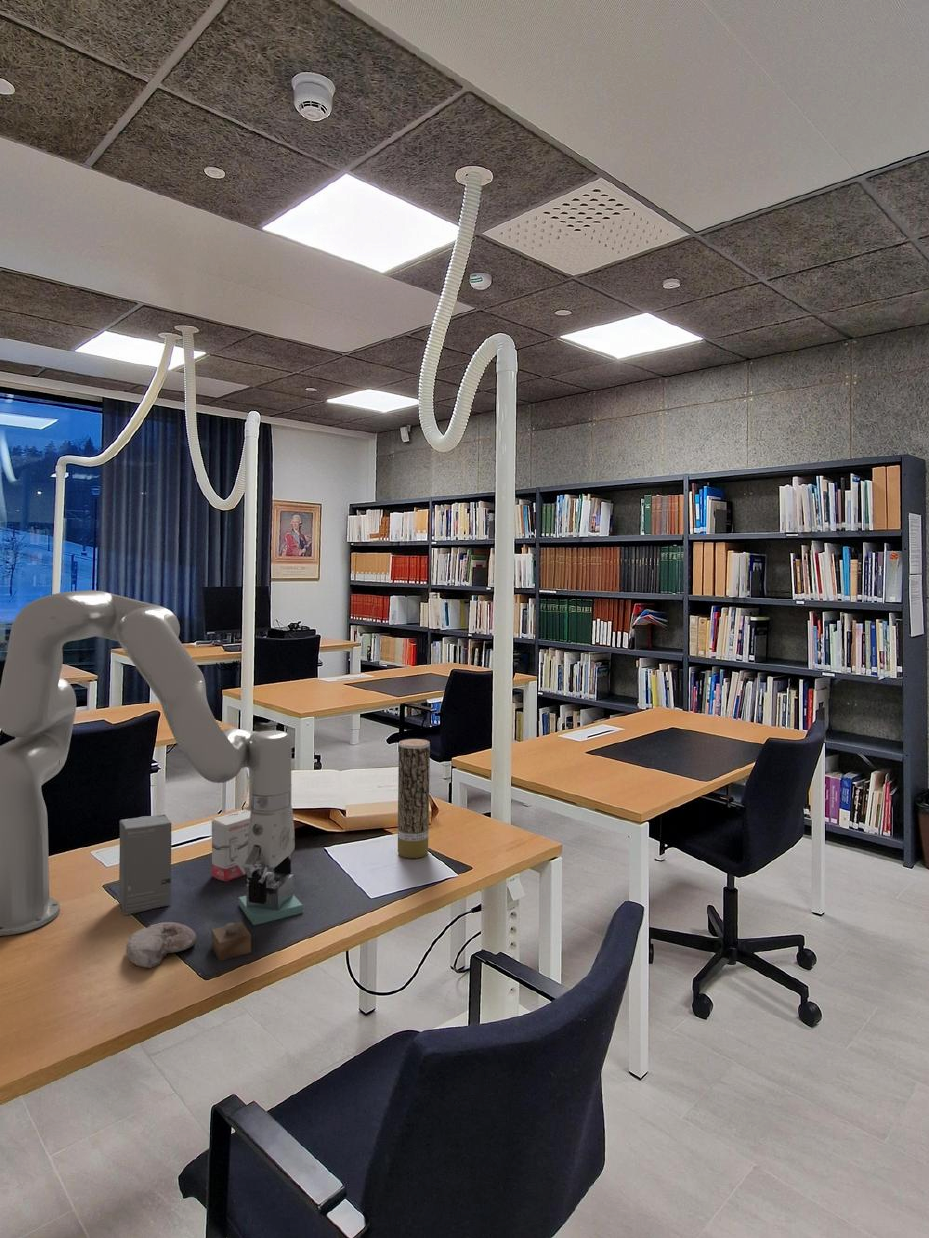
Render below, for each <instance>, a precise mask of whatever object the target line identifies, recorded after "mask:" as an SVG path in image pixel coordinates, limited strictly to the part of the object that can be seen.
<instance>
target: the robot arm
mask: <svg viewBox="0 0 929 1238" xmlns="http://www.w3.org/2000/svg"><path fill="white" fill-rule="evenodd" d="M180 625H181V624H180V623H179V620H178V618H177V616H176V614H174V613H173V612H172V611H171V610H170V609H168V608H166V607H164V606H161V605H157V604H154V603H149V602H146V601H145V602H144V601H141V600H139V599H138V600H137V599H134V598H130V597H126V596H122V595H118V594H115V593H110V592H107V591H103V590H94V589H90V590H89V589H87V590H72V591H65V592H64V591H63V592H58V593H53V594H48V595H46V596H43V597H40V598H37V599H35V600H33V601H31V602H30V603H27V604H26V605H25V606H24V607H23V608H21V610H20V611H19V612H18V614H17V615H16V616H15V618H14V620H13V622H12V624H11V628H10V633H9V639H8V645H7V646H8V647H7V651H6V658H5V662H4V667H3V671H2V676H1V683H0V729H1V731H2V732H3V733H4V734H6V735H8V736H11V737H14V739H12V740H9V741H8V742H5V743H4V744H2V745H1V744H0V937H4V936H12V935H19V934H22V933H25V932H29V931H32V930H34V929H35V930H36V929H38V928H40V927H43V926H44V925H46V924H48V923H50V922H51V921H53V920H54V919H55V918H56V917H57V916H58V915H59V914H60V911H61V910H60V903H59V901H58V900H57V899H54V898H52V897H50V867H49V865H50V861H49V828H48V827H49V826H48V823H49V822H48V811H47V806H46V803H45V800H44V796H43V792H42V786H43V785H44V784H45V783H47V782H48V781H50V780H51V779H52V778H54V777H55V776H56V775H58V774H59V773H60V771H61V770H62V769H63V768H64V766H65V763H66V761H67V758H68V754H69V751H70V745H71V738H72V733H73V727H74V723H75V719H76V713H77V712H76V711H77V697H76V693H75V690H74V689H73V686H72V685H71V684H70V682H68V681H67V680H66V679H65V678H63V677H61V673H62V669H63V663H64V662H63V661H64V659H63V658H64V656H63V655H64V654H63V653H64V652H63V646H64V645H65V644H66V643H68V642H73V641H74V642H75V641H81V640H85V639H90V638H95V637H98V638H101V639H108V640H112V641H115V642H118V643H119V644H120V647H121V648H122V649H123V651H124V652H125V654H126V655H127V657H128V659H130V661H131V662H132V664H133V665H134V667H135V668H136V670H138V672H139V673H140V675H141V677H143V679H144V681H145V682H146V683H147V684H148V686H149V688H150V689H151V690H152V692H153V693H154V695H155V696H156V698H157V699H158V701H159V703H160V705H161V709H162V712H163V714H164V718H165V719H166V722H167V724H168V727H169V728H170V732H171V734H172V737H173V739H174V740H175V742H176V743H177V745H178V747H179V749H180V750H181V752H182V753H183V754H184V756H185V758H187V760H188V761H189V763H190V764H191V766H192V767H193V768H194V769H195V771H196V772H197V773H198V774H199V775H200V776H201V777H203V778H204V779H205V780H207V781H208V782H211V783H214V784H222V783H223V784H224V783H227V782H229V781H232V780H233V779H235V777H236V776H238V774H239V773H240V772H241V771H242V769H244V768H247V769H248V811H251V813H250V821H249V831H248V858H247V860H246V862H245V864H244V870H245V878H246V881H247V882H248V883H247V884H248V888H249V902H251V903H259V904H265V903H266V881H264V879H265V876H266V872H268V869H269V870H270V869H273V872H274V873H283V874H291V875H292V873H291V872H292V869H291V868H292V866H291V865H292V856H293V852H294V850H295V848H296V847H295V846H296V845H295V844H296V843H295V839H296V838H295V837H296V836H295V822H294V813H293V812H294V810H293V805H292V752H293V751H292V747H293V746H292V745H293V744H292V738H291V735H290V734H289V733H288V732H286V731H282V730H274V729H273V730H262V731H256V730H255V731H253V730H246V729H241V728H240V729H239V728H226V729H225V728H224V729H222V727H221V726H220V725H219V723H218V722H217V720H216V718H215V717H214V715H213V712H212V710H211V707H210V705H209V702H208V698H207V685H206V679H205V677H204V673H203V672H202V671H201V669H200V667H199V666H198V664H197V663H196V661H194V659H193V658H192V656H191V655H190V653H189V652H188V650H187V649H186V647H185V646H184V645H183V643H182V642H181V640H180V639H179V636H180V632H181V628H180ZM258 862H262V863H258ZM256 868H259V869H261V870H260V873H259V872H258V870H256Z"/></svg>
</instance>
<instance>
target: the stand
mask: <svg viewBox="0 0 929 1238" xmlns="http://www.w3.org/2000/svg"><path fill="white" fill-rule="evenodd" d="M211 949H212V951H214V953H215V956H216V958H217V959H218V960H219V961H220V962H221V961H224V960H228V959H229V960H230V959H232V958H235V957H239V956H242V955H243V956H244V955H246V954H250V953H252V935H251V933H250V931H249V930H248V929H247V927H246V926H245V924H244V922H243V921H239V922H236V923H235V922H228V923H227V924H226V925H224V926H221V927H216V928H212V929H211Z"/></svg>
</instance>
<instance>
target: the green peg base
mask: <svg viewBox="0 0 929 1238" xmlns="http://www.w3.org/2000/svg"><path fill="white" fill-rule="evenodd" d="M275 883H276V881H274V874H273V873H269V874H267V881H266V884H275ZM238 906H239V907H240V909H241V910H242V911H243V913H244V914H245V916H246V917H247V918H248V920H249V921H250V922H251V924H252V926H257V925H260V924H264V923H269V922H272V921H276V920H281V919H284V918H289V917H291V916H292V917H293V916H295V915H300V914H303V913H304V912H303V910H304V908H303V903H301V901H300V900H299V899H298V898H297V897H296V896H295V894H293V896H292V897H291V898H290V899H289V900H288V901H287V902H286V903H285V904H284V905H283V906H282V907H281V908H280V909H279V910H278V911H276V910H269V909H261V908H253V907H246V895H242V896H239V897H238Z"/></svg>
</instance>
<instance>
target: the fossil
mask: <svg viewBox="0 0 929 1238" xmlns="http://www.w3.org/2000/svg"><path fill="white" fill-rule="evenodd" d="M196 942H197V934H196V932H195V931H194V930H193V929H192V928H191V927H189V926H187V925H185V924H182V923H178V922H172V921H165V922H159V923H156V924H155V923H154V924H150V925H149V926H148V927H144V928H142V929H138V930H136V931H135V932H133V933H132V934H129V939H128V940H127V944H126V950H125V952H126V956H127V957H128V958H129V961H131V962H132V963H133V964H135V966H136V965H137V966H139V967H143V968H154V967H157V966H159V965H160V964H161V963H162V959H164V957H166V955H167V953H169V954H170V953H171V954H172V953H179V952H183V951H185V950H188V949H190V948H191V947H193V946H194V944H196Z"/></svg>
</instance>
